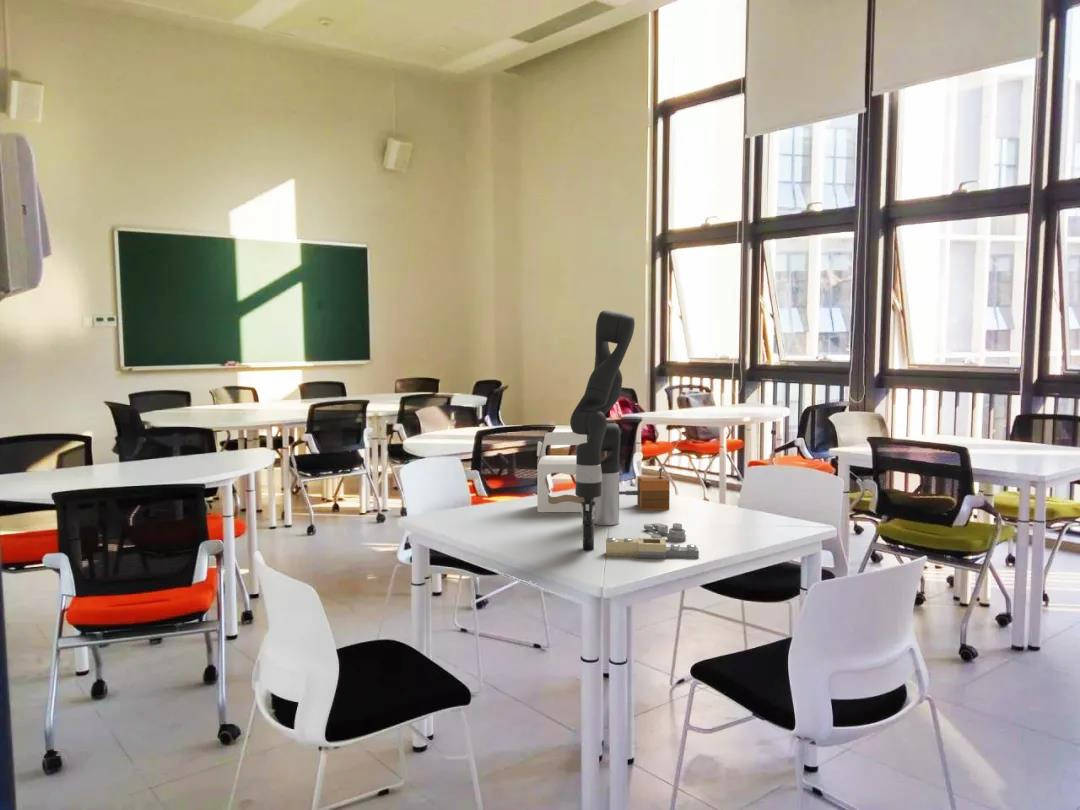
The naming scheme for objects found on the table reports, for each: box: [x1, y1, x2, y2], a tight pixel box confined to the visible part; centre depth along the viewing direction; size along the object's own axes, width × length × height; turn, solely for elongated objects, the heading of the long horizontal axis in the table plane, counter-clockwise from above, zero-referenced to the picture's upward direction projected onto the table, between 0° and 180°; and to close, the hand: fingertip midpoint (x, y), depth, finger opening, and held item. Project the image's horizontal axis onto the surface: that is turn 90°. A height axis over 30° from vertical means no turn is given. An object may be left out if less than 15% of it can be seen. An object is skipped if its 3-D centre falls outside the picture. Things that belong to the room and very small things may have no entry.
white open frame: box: [536, 431, 587, 513], centre depth 291 cm, size 22×13×28 cm, turn 89°
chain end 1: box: [605, 537, 667, 558], centre depth 227 cm, size 8×17×4 cm, turn 84°
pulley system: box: [643, 522, 687, 543], centre depth 246 cm, size 27×5×15 cm
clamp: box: [619, 468, 671, 511], centre depth 295 cm, size 11×20×14 cm, turn 91°
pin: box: [582, 519, 595, 552], centre depth 233 cm, size 4×4×13 cm
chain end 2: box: [637, 543, 700, 560], centre depth 226 cm, size 8×17×3 cm, turn 84°
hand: (588, 535), depth 233 cm, fingers open, 8 cm apart
